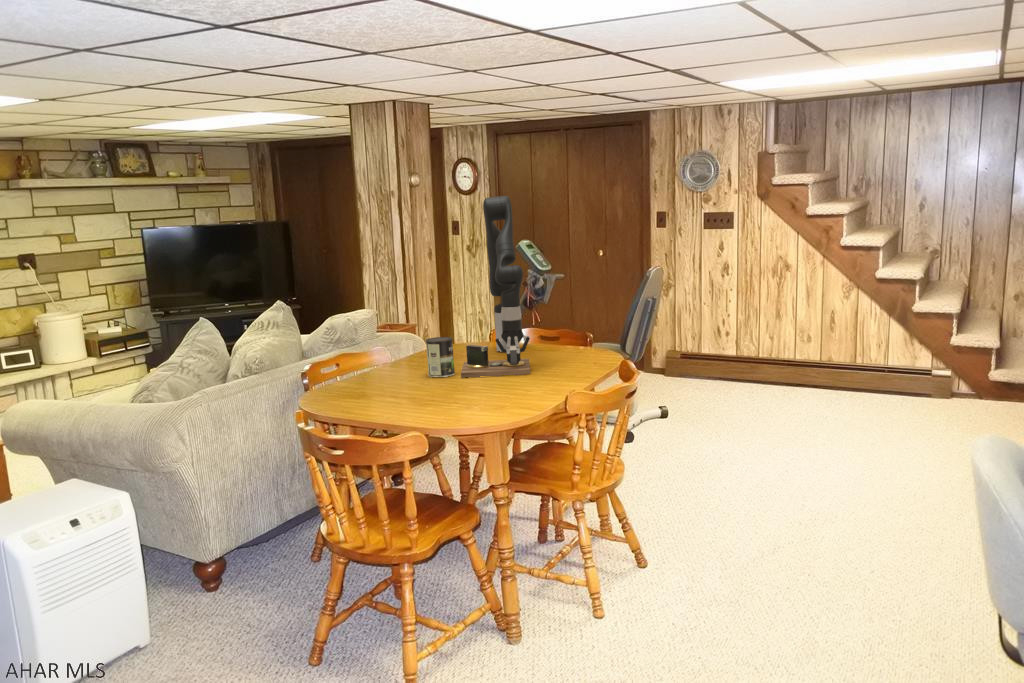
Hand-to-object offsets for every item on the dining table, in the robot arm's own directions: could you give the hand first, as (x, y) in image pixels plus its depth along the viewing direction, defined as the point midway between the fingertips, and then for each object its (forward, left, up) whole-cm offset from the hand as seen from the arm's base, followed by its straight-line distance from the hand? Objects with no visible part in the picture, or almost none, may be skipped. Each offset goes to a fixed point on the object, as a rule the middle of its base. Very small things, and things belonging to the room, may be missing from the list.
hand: (513, 362), depth 311 cm
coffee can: (0, -28, -3) cm, 28 cm away
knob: (-3, 0, -1) cm, 3 cm away
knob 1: (-3, -14, -1) cm, 14 cm away
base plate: (-3, -7, -3) cm, 8 cm away
